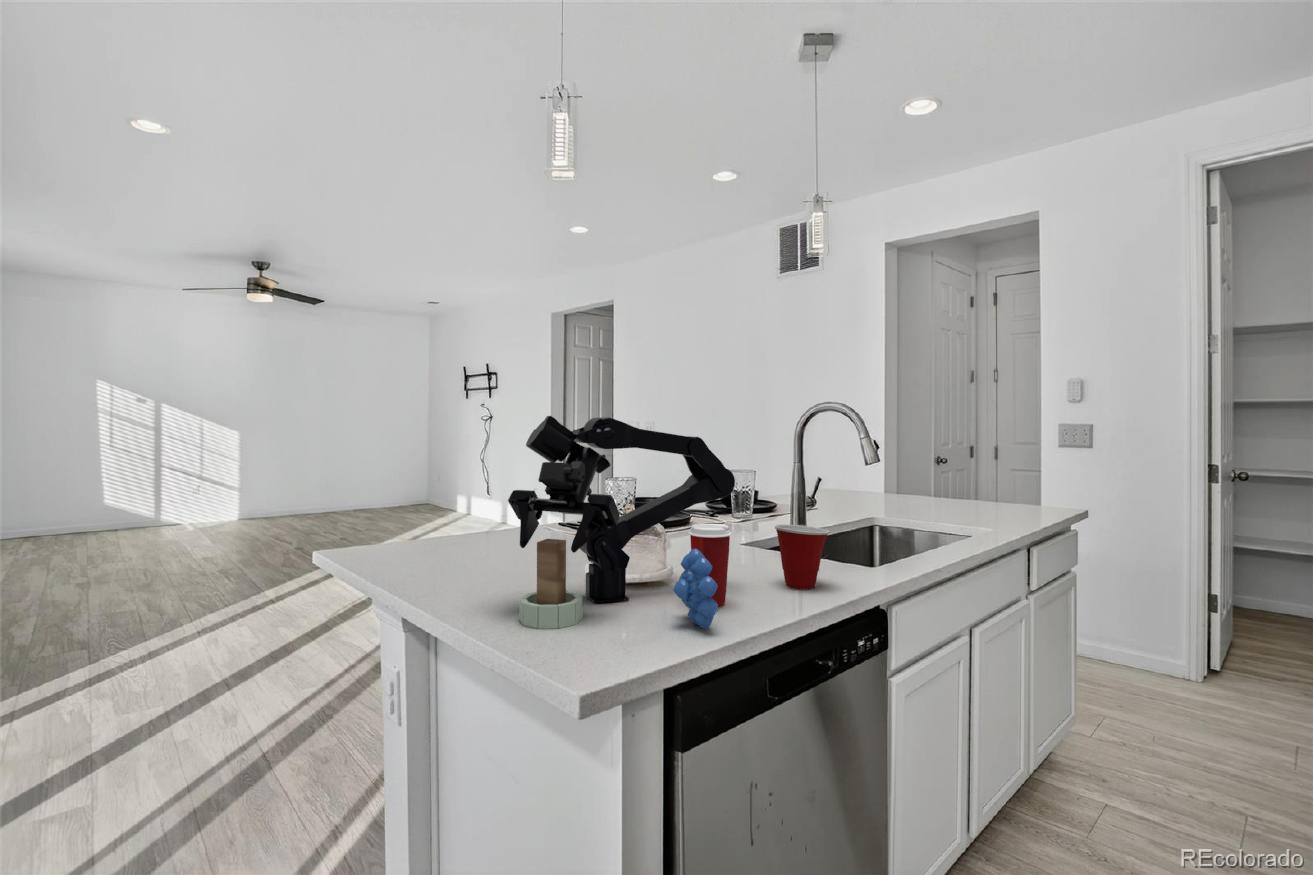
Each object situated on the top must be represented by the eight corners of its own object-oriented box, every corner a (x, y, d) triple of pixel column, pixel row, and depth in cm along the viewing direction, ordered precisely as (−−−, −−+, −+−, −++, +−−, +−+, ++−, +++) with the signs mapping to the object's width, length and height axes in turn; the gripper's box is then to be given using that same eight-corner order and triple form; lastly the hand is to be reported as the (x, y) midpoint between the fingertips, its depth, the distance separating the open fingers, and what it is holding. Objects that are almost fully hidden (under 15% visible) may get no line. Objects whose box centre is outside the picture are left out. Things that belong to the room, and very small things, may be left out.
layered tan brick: (546, 609, 110) (547, 538, 110) (565, 611, 109) (566, 540, 109) (536, 615, 107) (536, 542, 106) (556, 617, 105) (556, 543, 105)
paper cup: (736, 601, 119) (737, 524, 119) (722, 612, 112) (723, 531, 112) (696, 596, 123) (697, 521, 122) (680, 606, 116) (681, 527, 115)
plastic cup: (840, 590, 128) (841, 528, 127) (794, 595, 124) (794, 532, 123) (807, 577, 138) (808, 520, 137) (763, 582, 134) (763, 523, 133)
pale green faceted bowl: (572, 607, 114) (572, 588, 114) (588, 625, 105) (588, 603, 105) (515, 613, 111) (515, 593, 110) (527, 632, 101) (527, 609, 101)
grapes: (660, 616, 110) (661, 545, 109) (698, 613, 112) (698, 543, 111) (685, 638, 99) (686, 559, 98) (726, 634, 101) (727, 556, 100)
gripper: (514, 443, 114) (477, 514, 103) (614, 446, 108) (585, 522, 98) (535, 484, 121) (503, 555, 111) (630, 489, 116) (605, 564, 105)
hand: (546, 548), depth 106 cm, fingers open, 9 cm apart
